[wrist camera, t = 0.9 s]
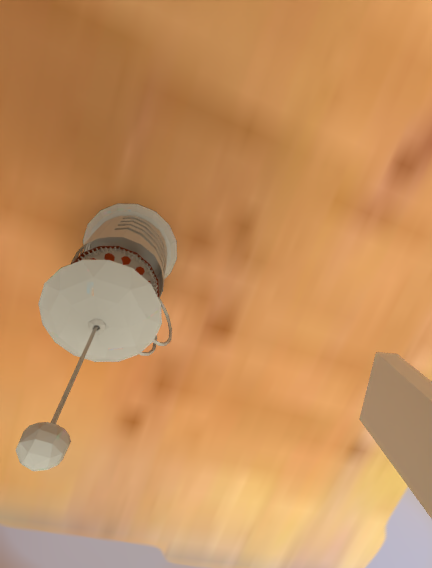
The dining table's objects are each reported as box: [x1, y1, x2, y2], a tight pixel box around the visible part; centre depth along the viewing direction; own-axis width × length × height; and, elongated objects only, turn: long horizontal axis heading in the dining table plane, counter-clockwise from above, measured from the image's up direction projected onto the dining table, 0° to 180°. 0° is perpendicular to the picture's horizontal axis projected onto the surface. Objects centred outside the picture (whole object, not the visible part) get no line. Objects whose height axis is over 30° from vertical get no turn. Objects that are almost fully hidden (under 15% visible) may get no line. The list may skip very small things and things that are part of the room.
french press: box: [16, 204, 177, 471], centre depth 24 cm, size 10×12×25 cm
